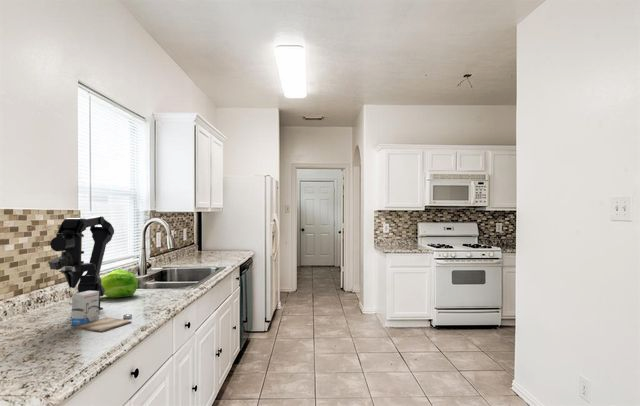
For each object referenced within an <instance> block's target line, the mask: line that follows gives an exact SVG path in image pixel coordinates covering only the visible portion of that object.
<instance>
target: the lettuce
mask: <svg viewBox="0 0 640 406" xmlns="http://www.w3.org/2000/svg"><path fill="white" fill-rule="evenodd" d="M100 278H101V280H102V282H101V285H102V286H103V288H104V290H105V293H104V296H107V297H110V298H126V297H130V296H133V295H135V293H136V291H137V289H138V287H139V281H138V278H137V277H136V275H135V274H134V273H133V272H132V271H130V270H123V269H116V270H115V269H114V270H113V271H111V272H109V273H107V274H106V275H103V276H102V277H100Z"/></svg>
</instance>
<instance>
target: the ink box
mask: <svg viewBox="0 0 640 406" xmlns="http://www.w3.org/2000/svg"><path fill="white" fill-rule="evenodd" d="M99 311H100V310H99V291H85V292H80V293H78V292H77V293H73V294H72V296H71V325H72V326H78V325H81V324H85V323H88V322H92V321H95V320H99Z"/></svg>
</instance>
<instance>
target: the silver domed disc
mask: <svg viewBox="0 0 640 406" xmlns="http://www.w3.org/2000/svg"><path fill="white" fill-rule="evenodd" d="M129 319H133V314H132V313H128V314H127V313H126V314H123V317H122V320H129Z"/></svg>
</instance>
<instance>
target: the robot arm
mask: <svg viewBox="0 0 640 406" xmlns="http://www.w3.org/2000/svg"><path fill="white" fill-rule="evenodd" d="M87 228H89V231H90V233H91V234H92V235H91V238H92V240H93V242H94V243H93V247H92V251H91V256H90V258H89V262H84V260H82V254H85V251H84V250H83V249H82V248H83V247H82V242H83V239H82V238H84V237H85V235H84V234H83V232H84V231H87ZM114 234H115V229H114V227H113V225H112V223H110V222H109V221H108V220H106V219H105V217H104V216H102V215H92V216H88V217H67V218H63V221H62V222H61V224H60V226H59V228H58V231H57V232H56V236H55V237H53V238H52V239H51V240H50V242H49V243H50V246H49V247H50V248H51V249H52V250H53V251H55V252H60V253H61V254H60V256H58V257H55V258H54V259H51V260H49V261H48V265H49V268H50V270H53V271H54V270H55V271H59V272H60V273H61V274H63V275H64V276H65V279H66V282H67V285H68V287H69V288H70V289H75V288H76V287H77V293H80V292H85V291H99V310H98V311H101V310H104V309H103V307H101V297H104V296H105V295H104V293H105V290H104V288H103V286H102V285H101V282H102V280H101V278H102V277H101V276H100V273H101V268H102V264H103V260H104V255H105V251H106V247H107V245H108V244H109V243H110V242H111V240H112V239H113V236H114ZM84 273H85V274H84Z"/></svg>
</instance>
